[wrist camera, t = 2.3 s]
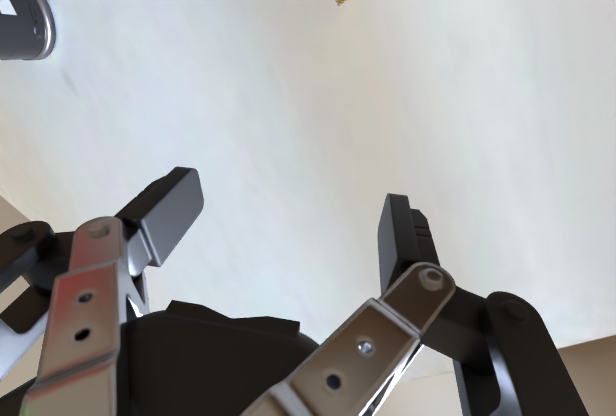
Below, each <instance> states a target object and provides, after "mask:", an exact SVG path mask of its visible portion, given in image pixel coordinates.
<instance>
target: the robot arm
mask: <svg viewBox="0 0 616 416" xmlns="http://www.w3.org/2000/svg"><path fill="white" fill-rule="evenodd" d="M55 37H56V33H55V24H54V20H53V16H52V13H51V10H50V7H49V5H48V3H47V1H46V0H0V60H41V59H44V58H46V57H47V56H48V55H49V54H50V53H51V52H52V50H53V48H54V44H55ZM203 204H204V199H203V194H202V189H201V184H200V179H199V175H198V172H197V170H196V169H194V168H186V167H175V168H174V169H173V170H172V171H171V172H170V173H169V174H167V175H166V176H164V177H162V178H160V179H158V180H156V181H153V182H152V183H151V184H150V185H148V186H147V187H146V188H145V189H144V191H142V192H141V193H139V194H138V196H137V197H135V198H134V199H133V200H132V201H130V202H129V203H128V204H127V205H126V206H125V207H124V208H123V209H121V210H120V211H119V212H118V213H117V214H116V215H115V216H113V217H112V216H105V217H99V218H95V219H92V220H90V221H87V222H85V223H84V224H82V225H81V226H79V227H78V228H77V229H76V231H72V232H60V233H54V231H53V230H52V228H51V227H50V225H49V224H48V223H47V222H43V221H32V222H26V223H23V224H19V225H17V226H14V227H12V228H10V229H8V230H6V231H5V232H3V233H2V234H1V235H0V293H1V292H2V291H4V289H6V288H7V287H8V286H9V285H11V284H12V283H13V282H14V281H15V280H16V279H17V278H18V277H19V276H21V275H22V277H23V278H24V279H25V280H26V281H27V282H28V284H29V285H30V287H28V288H27V289H26V290H25V291H24V292H23V293H22V294H21V295H20V296H19V297H18V298H17V299H16V300H15V301H14V302H13V303H11V305H9V306H8V307H7V308H6V309H5V310H4V311H3V312H2V313H1V314H0V382H1V381H2V379H3V378H4V377H5V376H6V375H7V374H8V373H9V371H10V370H11V369H12V368H13V367H14V366H15V365H16V364H17V362H18V361H19V360H20V359H21V358H22V357H23V355H24V354H25V353H26V352H27V351H28V350H29V349H30V348H31V346H32V345H33V344H34V343H35V342H36V341H37V340H38V338H39V337H40V336H41V335H42V334H43V333H44V332H45V334H44V340H43V345H42V350H41V356H40V361H39V367H38V372H37V376H36V377H35V378H33V379H31V380H30V381H28V382H26V383H24V384H23V385H21V386H20V387H18V388H16V389H14V390H13V391H11V392H9V393H8V394H6V395H4V396H3V397H1V398H0V416H374V414H375V413H376V412H377V410H378V409H379V407H380V406H381V405H382V403H383V402H384V400H385V399H386V397H387V396H388V394H389V393H390V391H391V390H392V388H393V386H394V385H395V384H396V382H397V381H398V379H399V378H400V377H401V375H402V374H403V373H404V371H405V370H406V368H407V367H408V366H409V364H410V363H411V362H412V360H413V359H414V358H415V356H416V355H417V353H418V352H419V351H420V349H421V348H422V347H423V345H426V346H428V347H430V348H432V349H434V350H436V351H438V352H440V353H442V354H444V355H446V356H448V357H450V358H452V359H453V365H454V370H455V375H456V380H457V386H458V392H459V397H460V402H461V408H462V413H463V416H589V415H588V413H587V411H586V408H585V406H584V404H583V402H582V400H581V398H580V397H579V394H578V392H577V390H576V388H575V386H574V384H573V382H572V380H571V378H570V376H569V374H568V372H567V369H566V367H565V365H564V363H563V362H562V359H561V357H560V355H559V353H558V351H557V349H556V347H555V345H554V343H553V341H552V339H551V336H550V334H549V332H548V330H547V328H546V326H545V324H544V322H543V320H542V318H541V316H540V315H539V313H538V312H537V311H536V309H535V308H534V307H533V306H532V305H530V304H529V303H528V302H527V301H525V300H524V299H522V298H520V297H518V296H516V295H514V294H511V293H508V292H502V291H497V292H493V293H491V294H490V295H489V296H488V297H487V298H483V297H481V296H478V295H476V294H473V293H471V292H468V291H466V290H463V289H461V288H460V287H458V286H456V284H455V281H454V279H453V278H452V276H451V275H450V274H449V273H448V272H447V271H446V270H445V269H443V268H442V267H440V263H439V260H438V256H437V253H436V249H435V246H434V242H433V239H432V238H431V237H432V235H431V232H430V230H429V225H428V221H427V218H426V217H425V216H424V215H423V214H422V213H421V212H420V210H417V209H410V205H409V201H408V197H407V196H406V195H398V194H390V193H388V194H387V196H386V199H385V203H384V207H383V211H382V215H381V218H380V222H379V227H378V251H379V268H380V284H381V296H380V297H379V298H378V299H377V300H375V299H374V298H370V299H368V300H367V301H366V302H365V303H364V304H363V305H362V306H361V307H359V308H358V309H357V310H356V311H355V312H354V313H353V314H352V315H351V316H350V317H349V318H348V319H347V320H346V321H345V322H344V323H343V324H342V325H341V326H340V327H339V328H338V329H337V330H336V331H335V332H333V333H332V334H331V335H330V336H329V337H328V338H327V339H326V340H325V341H324V342H323V343H322V344H321V345H319V344H317V343H316V342H315V341H314V340H313V339H311V338H309V337H308V336H306V335H304V334H302V333H300V332H299V330H300V322H298V321H292V320H287V319H281V318H275V317H269V316H264V317H250V318H229V317H227V316H224V315H222V314H220V313H218V312H216V311H214V310H212V309H210V308H207V307H205V306H203V305H199V304H193V303H187V302H181V301H175V300H172V301H171V302H170V304H169V306H168V307H167V309H166V310H162V311H157V312H152V313H150V310H149V302H148V294H147V285H146V277H145V273H144V271H143V270H144V268H145V267H146V266H147V265H149V266H155V267H161V265H162V264H163V263H164V261H165V260H166V259H167V257H168V256H169V255H170V253H171V252H172V251H173V249H174V248H175V246H176V245H177V244H178V242H179V241H180V240H181V238H182V237H183V236H184V234H185V233H186V232H187V230H188V229H189V228H190V226H191V225H192V224H193V222H194V221H195V220H196V218H197V217H198V216H199V214H200V213H201V211H202V209H203Z"/></svg>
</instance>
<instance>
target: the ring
mask: <svg viewBox="0 0 616 416" xmlns="http://www.w3.org/2000/svg"><path fill="white" fill-rule="evenodd" d="M345 1H346V0H336V2H337V4H338V6H339V5H341V4H342V3H344V2H345Z"/></svg>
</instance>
